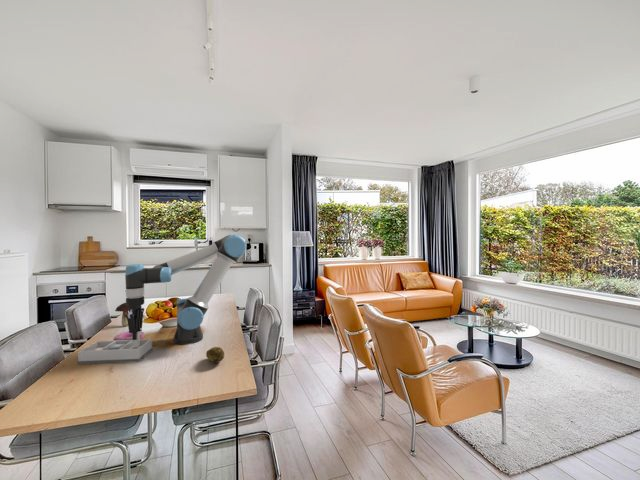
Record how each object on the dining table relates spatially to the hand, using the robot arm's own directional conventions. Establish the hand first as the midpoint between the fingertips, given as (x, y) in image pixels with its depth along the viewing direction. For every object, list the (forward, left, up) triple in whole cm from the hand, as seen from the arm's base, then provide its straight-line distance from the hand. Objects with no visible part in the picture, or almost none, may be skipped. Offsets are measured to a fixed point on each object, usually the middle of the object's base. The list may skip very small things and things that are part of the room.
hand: (136, 345), depth 143 cm
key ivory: (0, 0, -4) cm, 4 cm away
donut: (+12, -19, -5) cm, 23 cm away
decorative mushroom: (+30, -51, -5) cm, 59 cm away
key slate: (+8, 0, -2) cm, 9 cm away
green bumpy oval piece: (-40, +12, -5) cm, 42 cm away
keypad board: (+8, 0, -5) cm, 10 cm away
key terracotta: (+16, 0, -4) cm, 17 cm away
